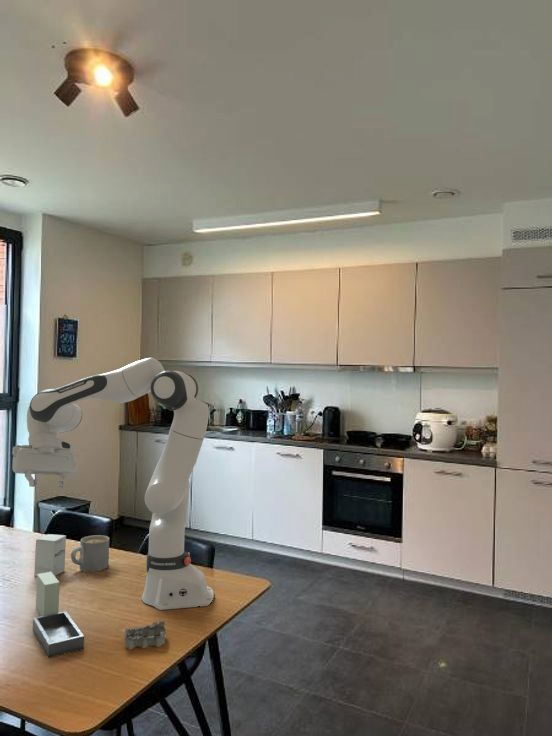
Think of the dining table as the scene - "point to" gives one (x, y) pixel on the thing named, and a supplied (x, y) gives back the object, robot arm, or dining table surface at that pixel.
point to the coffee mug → (92, 553)
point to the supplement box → (50, 554)
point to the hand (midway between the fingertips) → (47, 486)
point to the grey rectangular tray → (58, 634)
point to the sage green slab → (47, 594)
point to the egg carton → (149, 631)
